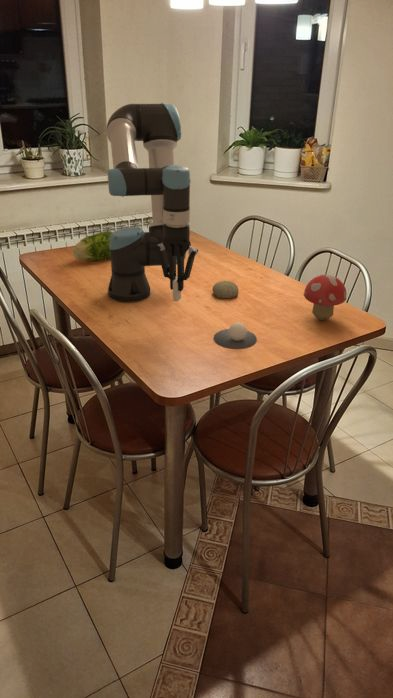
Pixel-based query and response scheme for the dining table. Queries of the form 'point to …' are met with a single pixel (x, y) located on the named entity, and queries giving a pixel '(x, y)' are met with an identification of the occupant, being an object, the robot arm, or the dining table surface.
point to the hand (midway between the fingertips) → (176, 299)
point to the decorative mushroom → (325, 295)
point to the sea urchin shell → (225, 289)
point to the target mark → (226, 341)
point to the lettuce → (93, 247)
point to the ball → (237, 331)
